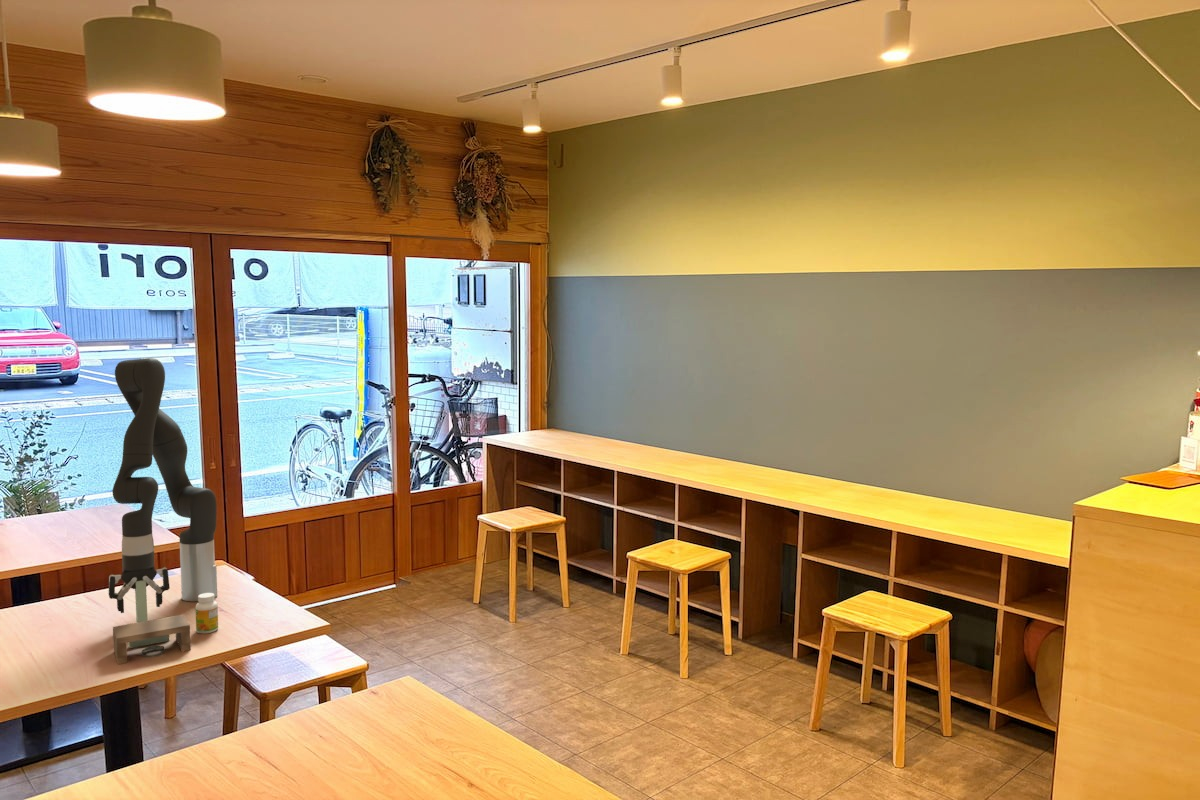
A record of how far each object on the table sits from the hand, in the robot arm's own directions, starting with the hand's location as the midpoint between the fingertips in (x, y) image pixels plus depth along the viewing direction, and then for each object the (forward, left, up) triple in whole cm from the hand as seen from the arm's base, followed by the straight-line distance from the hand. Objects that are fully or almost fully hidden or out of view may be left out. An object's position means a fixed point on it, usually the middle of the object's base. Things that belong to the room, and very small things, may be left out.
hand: (140, 609), depth 224 cm
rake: (0, +7, -5) cm, 8 cm away
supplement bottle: (-14, +13, -5) cm, 20 cm away
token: (0, +22, -5) cm, 22 cm away
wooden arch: (0, +20, -5) cm, 21 cm away
